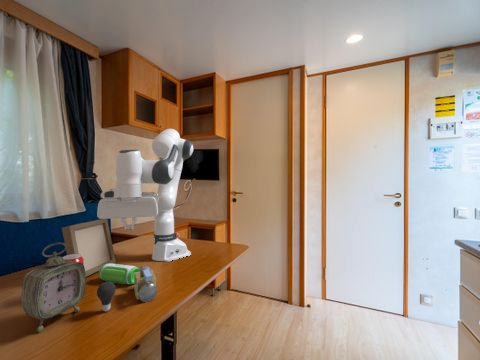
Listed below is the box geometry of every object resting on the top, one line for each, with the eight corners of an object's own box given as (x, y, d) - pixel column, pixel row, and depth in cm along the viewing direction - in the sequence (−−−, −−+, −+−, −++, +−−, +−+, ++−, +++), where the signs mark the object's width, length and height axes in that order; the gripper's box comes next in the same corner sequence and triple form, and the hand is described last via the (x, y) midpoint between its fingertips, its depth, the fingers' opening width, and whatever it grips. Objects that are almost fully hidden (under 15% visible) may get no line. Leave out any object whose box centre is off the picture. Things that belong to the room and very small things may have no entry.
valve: (150, 284, 97) (150, 265, 97) (158, 299, 85) (157, 278, 85) (133, 288, 93) (133, 269, 93) (138, 304, 81) (138, 282, 81)
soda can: (64, 300, 84) (64, 261, 84) (55, 295, 88) (55, 257, 88) (87, 291, 91) (87, 255, 91) (78, 287, 95) (78, 252, 95)
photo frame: (115, 264, 121) (115, 218, 121) (79, 281, 100) (79, 226, 100) (92, 262, 124) (92, 217, 124) (53, 279, 103) (53, 225, 103)
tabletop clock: (36, 337, 64) (36, 251, 64) (17, 330, 67) (17, 247, 68) (85, 310, 78) (85, 238, 78) (68, 305, 81) (68, 236, 81)
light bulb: (102, 306, 80) (102, 279, 80) (118, 306, 80) (118, 278, 80) (93, 316, 74) (93, 286, 74) (110, 315, 75) (110, 285, 75)
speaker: (142, 280, 101) (141, 264, 101) (129, 288, 94) (129, 270, 94) (111, 276, 106) (111, 260, 106) (97, 283, 99) (97, 266, 99)
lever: (139, 272, 90) (139, 267, 90) (148, 270, 92) (148, 265, 92) (143, 282, 81) (143, 276, 81) (154, 280, 83) (154, 274, 83)
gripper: (159, 191, 89) (159, 226, 89) (101, 192, 83) (101, 229, 83) (158, 192, 83) (158, 229, 83) (95, 193, 77) (95, 233, 77)
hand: (129, 229), depth 83 cm, fingers closed
